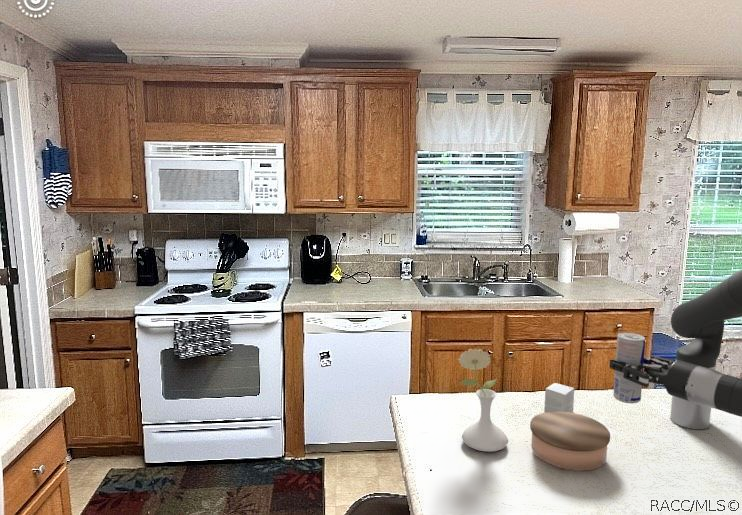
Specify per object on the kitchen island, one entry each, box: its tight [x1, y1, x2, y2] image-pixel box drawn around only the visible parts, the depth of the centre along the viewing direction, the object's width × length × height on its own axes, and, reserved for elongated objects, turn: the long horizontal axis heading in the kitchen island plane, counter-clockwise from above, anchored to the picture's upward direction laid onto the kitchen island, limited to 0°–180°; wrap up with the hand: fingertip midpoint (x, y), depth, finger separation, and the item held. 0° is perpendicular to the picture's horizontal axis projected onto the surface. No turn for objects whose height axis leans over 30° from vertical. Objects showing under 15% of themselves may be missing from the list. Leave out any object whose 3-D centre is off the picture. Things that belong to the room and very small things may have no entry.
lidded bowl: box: [529, 411, 611, 471], centre depth 128 cm, size 18×18×7 cm
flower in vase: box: [457, 348, 509, 453], centre depth 133 cm, size 13×11×25 cm
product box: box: [543, 382, 575, 413], centre depth 151 cm, size 6×6×7 cm
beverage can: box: [612, 332, 646, 405], centre depth 119 cm, size 6×6×15 cm
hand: (618, 360), depth 121 cm, fingers closed on beverage can, 5 cm apart
